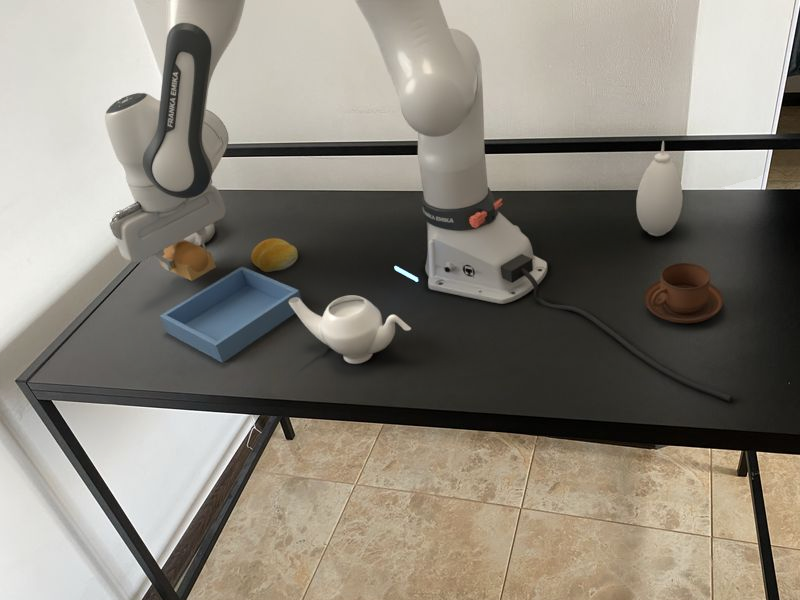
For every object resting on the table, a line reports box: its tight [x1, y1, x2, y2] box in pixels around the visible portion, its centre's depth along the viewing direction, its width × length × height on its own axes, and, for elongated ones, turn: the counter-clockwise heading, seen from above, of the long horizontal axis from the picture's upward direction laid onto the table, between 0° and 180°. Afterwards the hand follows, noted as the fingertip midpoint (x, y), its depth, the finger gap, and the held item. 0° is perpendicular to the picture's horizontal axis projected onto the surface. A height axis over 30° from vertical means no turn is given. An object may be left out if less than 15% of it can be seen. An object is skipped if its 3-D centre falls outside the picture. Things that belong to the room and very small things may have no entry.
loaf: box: [158, 239, 217, 282], centre depth 136 cm, size 11×5×5 cm, turn 52°
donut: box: [184, 223, 216, 245], centre depth 153 cm, size 10×4×10 cm
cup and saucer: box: [643, 262, 724, 324], centre depth 117 cm, size 12×12×6 cm
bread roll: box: [250, 237, 299, 273], centre depth 142 cm, size 8×9×4 cm
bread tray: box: [159, 266, 303, 363], centre depth 127 cm, size 16×18×4 cm
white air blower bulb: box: [635, 140, 684, 237], centre depth 132 cm, size 8×8×18 cm
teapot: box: [289, 294, 412, 365], centre depth 115 cm, size 10×20×9 cm, turn 72°
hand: (186, 259), depth 137 cm, fingers closed on loaf, 5 cm apart
